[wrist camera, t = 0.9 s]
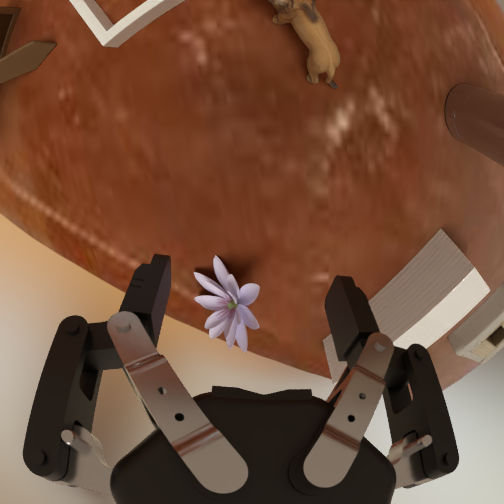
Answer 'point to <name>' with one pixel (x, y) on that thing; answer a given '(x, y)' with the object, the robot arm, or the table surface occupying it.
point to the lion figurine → (310, 36)
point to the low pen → (126, 27)
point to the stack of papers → (422, 298)
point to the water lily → (228, 306)
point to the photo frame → (23, 58)
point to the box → (482, 330)
